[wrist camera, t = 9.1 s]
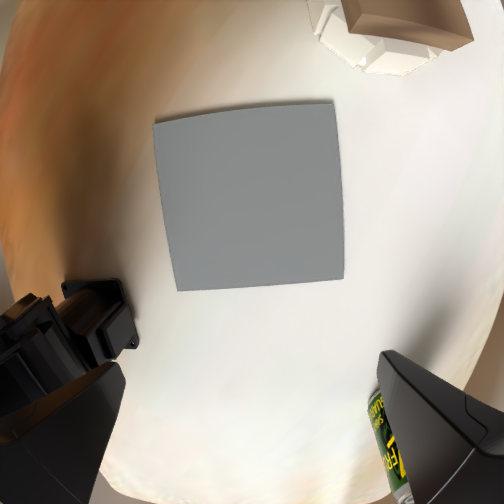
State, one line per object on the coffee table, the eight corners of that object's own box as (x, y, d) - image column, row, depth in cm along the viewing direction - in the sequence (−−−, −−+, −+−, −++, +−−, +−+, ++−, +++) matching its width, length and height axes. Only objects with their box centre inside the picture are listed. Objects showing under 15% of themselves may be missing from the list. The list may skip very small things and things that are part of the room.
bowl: (320, 70, 16) (334, 47, 12) (300, -25, 13) (306, -58, 9) (433, 80, 15) (466, 67, 11) (407, -11, 13) (429, -35, 8)
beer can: (421, 375, 23) (470, 466, 12) (403, 411, 25) (438, 497, 13) (374, 381, 23) (413, 486, 12) (359, 417, 25) (384, 513, 13)
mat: (178, 289, 21) (177, 291, 21) (154, 125, 18) (152, 124, 17) (342, 276, 20) (343, 279, 20) (332, 104, 17) (333, 103, 16)
